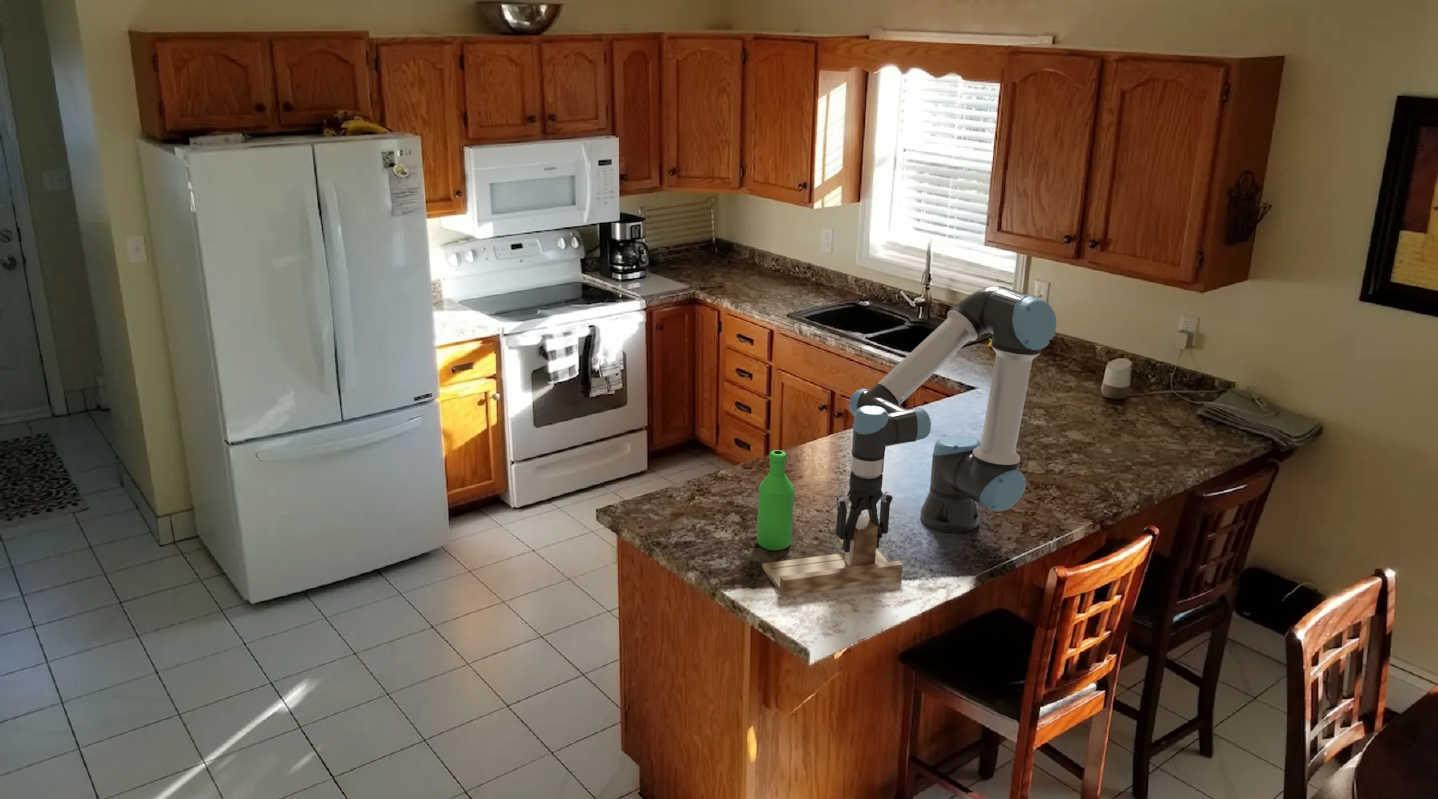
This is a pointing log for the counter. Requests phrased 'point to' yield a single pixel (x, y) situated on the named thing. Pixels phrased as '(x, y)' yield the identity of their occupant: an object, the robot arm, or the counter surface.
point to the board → (816, 568)
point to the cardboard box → (863, 542)
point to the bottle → (775, 506)
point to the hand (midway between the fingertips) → (859, 561)
